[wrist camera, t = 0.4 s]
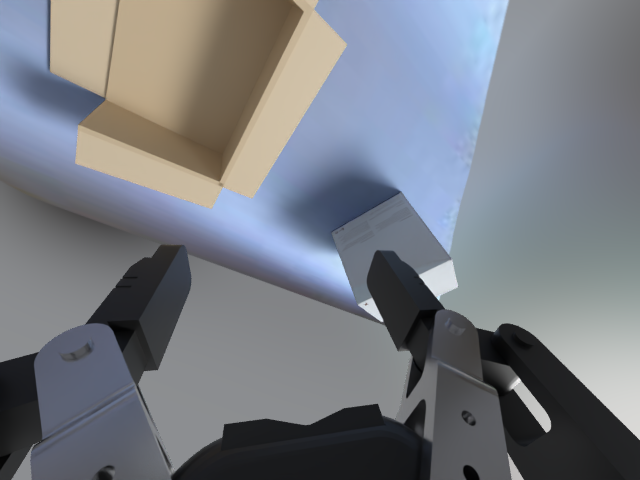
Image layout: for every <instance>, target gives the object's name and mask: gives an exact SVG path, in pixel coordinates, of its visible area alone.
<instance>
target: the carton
mask: <svg viewBox="0 0 640 480" xmlns="http://www.w3.org/2000/svg"><path fill="white" fill-rule="evenodd" d="M317 2H318V0H51V34H50V72H51V73H53V74H55V75H57V76H60V77H62V78H64V79H66V80H68V81H70V82H72V83H74V84H76V85H79V86H81V87H83V88H85V89H87V90H89V91H91V92H93V93H95V94H98V95H100V96H102V97H104V98H106V100H105V101H104V102H103V103H101V104H100V105H99V106H98V107H97V108H96V109H95V110H94V111H93V112H92V113H91V114H89V115H88V116H87V117H86V118H85V119H84V120H83V121H82V122H81V123H80V124H78V137H77V149H76V161H75V163H76V164H79V165H82V166H85V167H88V168H91V169H94V170H97V171H100V172H103V173H106V174H109V175H112V176H115V177H117V178H120V179H123V180H126V181H129V182H132V183H135V184H138V185H141V186H144V187H147V188H150V189H153V190H156V191H159V192H162V193H165V194H168V195H171V196H174V197H177V198H180V199H183V200H186V201H189V202H192V203H195V204H198V205H201V206H204V207H207V208H210V209H212V207H213V205H214V203H215V201H216V199H217V197H218V195H219V193H220V192H221V190H222V188H223V187H224V188H226V189H229V190H231V191H234V192H236V193H239V194H241V195H244V196H247V197H249V198H253V197H254V195H255V193H256V192H257V190H258V188H259V187H260V185H261V184H262V182H263V180H264V179H265V177H266V176H267V174H268V172H269V171H270V169H271V167H272V166H273V164H274V163H275V161H276V159H277V158H278V156H279V154H280V153H281V151H282V150H283V148H284V146H285V145H286V143H287V142H288V140H289V138H290V137H291V135H292V133H293V132H294V130H295V129H296V127H297V125H298V124H299V122H300V120H301V119H302V117H303V116H304V114H305V112H306V111H307V109H308V107H309V106H310V104H311V103H312V101H313V99H314V98H315V96H316V95H317V93H318V91H319V90H320V88H321V86H322V85H323V83H324V82H325V80H326V78H327V77H328V75H329V73H330V72H331V70H332V69H333V67H334V65H335V64H336V62H337V61H338V59H339V57H340V56H341V54H342V52H343V51H344V49H345V48H346V46H347V44H346V43H345V42H344V41H343V40H342V39H341V37H340V36H339V35H338V34H337V33H336V32H335V31H334V30H333V29H332V28H331V27H330V26H329V25H328V24H327V23H326V22H325V21H324V20H323V19H322V18H321V17H320V16H319V14H318V13H317V12H316V11H315V10H314V8H315V6H316V4H317Z"/></svg>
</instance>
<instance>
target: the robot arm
mask: <svg viewBox="0 0 640 480" xmlns="http://www.w3.org/2000/svg"><path fill="white" fill-rule="evenodd" d="M419 277H420V276H419V275H418V274H417V273H416V271H415V270H414V269H413V268H412V267H411V266H409V265H408V264H407V263H405V262H404V261H401V259H400V258H399V257H398V255H397V254H396V253H395V252H394V251H392V250H377V251H376V252H375V253H374V256H373V259H372V262H371V265H370V269H369V272H368V275H367V287H368V290H369V292H370V294H371V296H372V298H373V300H374V302H375V304H376V306H377V309H378V311H379V313H380V315H381V317H382V319H383V321H384V323H385V325H386V327H387V329H388V331H389V333H390V335H391V337H392V340H393V342H394V344H395V346H396V348H397V350H398V351H410V353H411V354H412V356H411V358H410V360H409V364H408V369H407V374H406V380H405V385H404V391H403V396H402V401H401V405H400V408H399V411H398V413H397V416H396V418H395V420H394V419H391V418H388V417H385V416H382V414H381V411H380V409H379V406H378V404H373V405H366V406H358V407H351V408H344V409H342V410H340V411H338V412H336V413H334V414H332V415H329V416H327V417H326V418H323V419H321V420H319V421H318V422H315V423H313V424H311V425H300V424H294V423H288V422H282V421H276V420H270V419H262V420H253V421H246V422H239V423H232V424H224V430H223V437H222V438H220V439H218V440H216V441H214V442H212V443H211V444H209V445H207V446H206V447H204V448H202V449H201V450H200V451H199V452H197V453H196V454H195V455H193V456H192V457H191V458H190V459H189V460H188V461H186V462H185V463H184V464H183V465H182V466H181V467H180V468H179V469H178V470H177V471H175V469H174V467H173V464H172V462H171V460H170V457H169V455H168V453H167V451H166V448H165V446H164V444H163V442H162V439H161V437H160V435H159V432H158V430H157V428H156V425H155V423H154V421H153V418H152V416H151V413H150V411H149V409H148V406H147V404H146V401H145V399H144V397H143V394H142V392H141V389H140V387H139V385H138V383H139V381H140V379H141V376H142V374H143V372H144V371H150V370H158V368H159V366H160V363H161V361H162V358H163V356H164V353H165V351H166V348H167V346H168V343H169V341H170V338H171V336H172V333H173V331H174V329H175V326H176V323H177V321H178V318H179V316H180V313H181V311H182V309H183V306H184V304H185V301H186V299H187V296H188V294H189V291H190V287H191V272H190V267H189V261H188V256H187V250H186V247H185V246H184V245H161V246H160V247H159V248H158V249H157V251H156V252H155V254H154V255H153V256H152V258H143V259H142V260H140V261H138V262H137V263H135V264H134V265H132V266H131V267H130V268H129V270H128V271H127V272H126V273H125V275H124V276H123V279H121V280H120V281H119V282H118V284H117V285H116V288H114V289H113V290H112V291H111V292H110V294H109V295H108V296H107V298H106V299H105V300H104V301H103V302H102V304H101V305H100V306H99V308H98V309H97V310H96V311H95V313H94V314H93V315H92V316H91V318H90V319H89V320H88V322H87V323H86V324H85V325H82V326H78V327H75V328H72V329H70V330H68V331H65V332H63V333H62V334H60V335H58V336H57V337H55V338H53V339H52V340H51V341H49V342H48V343H47V344H46V345H45V346H44V347H43V348H42V349H41V350H40V351H39V352H37V353H34V354H30V355H26V356H23V357H19V358H15V359H12V360H8V361H4V362H0V480H11V479H12V478H13V476H14V474H15V473H16V471H17V469H18V468H19V466H20V465H21V463H22V461H23V460H24V458H25V457H26V455H27V453H28V452H29V450H30V448H31V447H32V445H33V444H35V443H37V444H36V445H34V447H33V449H32V451H31V460H30V461H31V474H32V480H512V479H511V473H510V467H509V460H508V454H509V455H510V457H511V459H512V460H513V462H514V464H515V466H516V467H517V469H518V470H519V472H520V474H521V475H522V477H523V479H524V480H640V440H639V439H638V438H637V437H636V436H635V435H634V434H633V433H632V432H631V431H630V430H629V429H628V428H627V427H626V426H625V425H624V424H623V423H622V422H621V421H620V420H619V419H618V418H617V417H616V416H615V415H614V414H613V413H612V412H611V411H610V410H609V409H608V408H607V407H606V406H604V404H603V403H602V402H601V401H600V400H599V399H597V397H596V396H594V394H592V392H591V391H590V390H589V389H587V387H585V385H583V383H582V382H580V381H579V379H577V378H576V377H575V375H574V374H572V372H571V371H569V370H568V369H567V368H566V367H565V366H564V365H563V364H562V363H561V362H560V361H559V360H558V359H557V358H556V357H555V356H554V355H553V354H552V353H551V352H550V351H549V350H548V349H547V348H546V347H545V346H544V345H543V344H542V343H541V342H540V341H539V340H538V339H537V338H536V337H535V336H534V335H532V334H531V333H530V332H528V331H526V330H525V329H523V328H521V327H519V326H516V325H513V324H502V325H500V326H499V328H498V329H497V330H496V331H495V332H491V331H487V330H483V329H478V328H475V326H474V325H473V324H472V323H471V322H470V321H469V320H468V319H467V318H466V317H464V316H463V315H461V314H459V313H457V312H455V311H452V310H447V309H445V308H444V307H443V306H442V304H441V303H440V302H439V300H438V299H437V298H436V297H435V295H434V294H433V293H432V292H431V290H430V289H429V288H428V287H427V285H425V283H424V281H423V280H422V279H421V278H419ZM521 381H522V382H523V383H524V385H525V386H526V387H527V388H528V390H529V391H530V392H531V393H532V395H533V396H534V397H535V398H536V400H537V401H538V402H539V403H540V405H541V406H542V407H543V408H544V409H545V411H546V412H547V414H548V416H549V418H550V420H551V430H550V431H549V432H547V433H546V432H545V431H544V429H543V428H542V427H541V425H540V424H539V423H538V421H537V420H536V419H535V417H534V416H533V415H532V413H531V412H530V411H529V409H528V408H527V407H526V405H525V404H524V403H523V401H522V400H521V399H520V397H519V396H518V395H517V393H516V392H515V391H514V389H513V388H514V387H515V386H516V385H517V384H518V383H519V382H521ZM40 441H41V442H40ZM38 442H39V443H38ZM507 452H508V454H507Z"/></svg>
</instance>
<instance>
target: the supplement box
mask: <svg viewBox="0 0 640 480" xmlns="http://www.w3.org/2000/svg"><path fill="white" fill-rule="evenodd" d="M332 236H333V239H334V242H335V245H336V247H337V250H338V253H339V256H340V258H341V261H342V264H343V266H344V269H345V272H346V275H347V277H348V280H349V283H350V286H351V288H352V291H353V294H354V297H355V299H356V302H357V305H359V306H360V307H362V308H363V309H364V310H366V311H367V312H368V313H370V314H371V315H373V316H374V317H375V318H377V319H378V320H380V321H381V322H383V319H382V317H381V315H380V313H379V311H378V309H377V306H376V304H375V302H374V300H373V298H372V296H371V294H370V292H369V290H368V287H367V275H368V272H369V269H370V265H371V262H372V259H373V256H374V253H375V252H376V251H377V250H392V251H394V252H395V253H396V254H397V255H398V257H399V258H400V259H401V261H404V262H405V263H407V264H408V265H409V266H411V267H412V268H413V269H414V270H415V271H416V273H417V274H418V275H419V276H420V277H419V278H421V279H422V280H423V281H424V283H425V285H427V287H428V288H429V289H430V290H431V292H432V293H433V294H434V295H435V297H437V296H439V295H442V294H444V293H446V292H448V291H450V290H453V289H455V288H457V287H458V284H457V280H456V276H455V272H454V266H453V261H452V258H451V257H450V256H449V255H448V253H447V252H446V251H445V249H444V248H443V247H442V245H441V244H440V243H439V242H438V240H437V239H436V238H435V236H434V235H433V234H432V232H431V231H430V230H429V228H428V227H427V226H426V224H425V223H424V222H423V220H422V219H421V218H420V216H419V215H418V214H417V212H416V211H415V210H414V208H413V207H412V206H411V204H410V203H409V202H408V200H407V199H406V198H405V196H404V194H403V193H402V192H400V193H399V194H397V195H395V196H394V197H392V198H390V199H388V200H387V201H385V202H383V203H381V204H380V205H378V206H376V207H375V208H373V209H371V210H369V211H368V212H366V213H364V214H362V215H361V216H359V217H357V218H355V219H354V220H352V221H350V222H348V223H347V224H345V225H343V226H342V227H340V228H338V229H336V230H335V231H333V232H332Z"/></svg>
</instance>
